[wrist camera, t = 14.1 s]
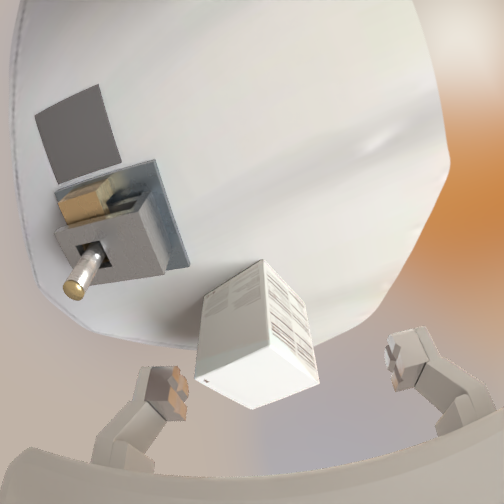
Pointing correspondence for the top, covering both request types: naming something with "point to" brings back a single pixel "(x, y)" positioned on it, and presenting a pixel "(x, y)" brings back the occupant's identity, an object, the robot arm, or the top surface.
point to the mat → (78, 135)
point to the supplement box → (255, 339)
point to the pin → (84, 271)
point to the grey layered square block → (122, 224)
